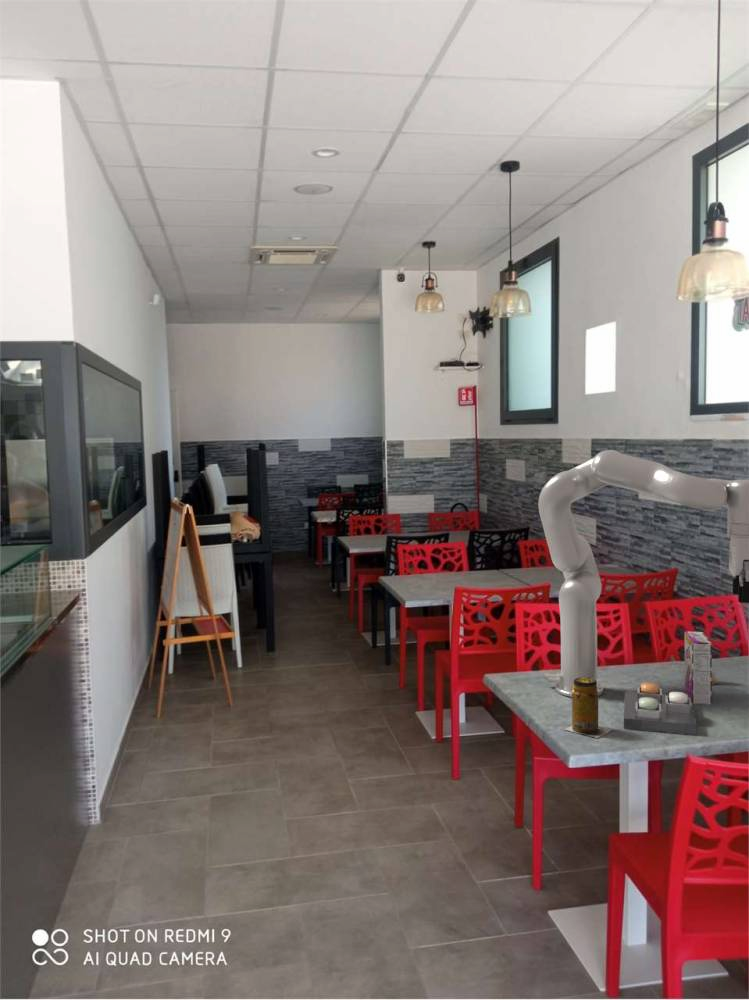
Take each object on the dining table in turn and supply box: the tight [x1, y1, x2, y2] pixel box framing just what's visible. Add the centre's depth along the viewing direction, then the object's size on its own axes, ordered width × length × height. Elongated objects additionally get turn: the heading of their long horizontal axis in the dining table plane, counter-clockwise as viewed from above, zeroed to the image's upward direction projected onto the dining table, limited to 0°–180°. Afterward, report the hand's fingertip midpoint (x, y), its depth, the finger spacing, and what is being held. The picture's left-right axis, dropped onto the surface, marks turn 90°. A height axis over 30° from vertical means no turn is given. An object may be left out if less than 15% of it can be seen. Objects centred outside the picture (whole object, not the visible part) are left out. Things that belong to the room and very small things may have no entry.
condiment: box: [564, 677, 613, 739], centre depth 184 cm, size 7×8×12 cm
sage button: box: [639, 697, 658, 711], centre depth 187 cm, size 4×4×2 cm
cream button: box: [668, 691, 688, 705], centre depth 190 cm, size 4×4×2 cm
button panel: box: [623, 685, 698, 736], centre depth 192 cm, size 16×20×4 cm
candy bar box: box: [684, 631, 713, 706], centre depth 204 cm, size 11×5×16 cm, turn 168°
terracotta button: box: [640, 681, 660, 694], centre depth 198 cm, size 4×4×2 cm
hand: (742, 598), depth 194 cm, fingers open, 9 cm apart
